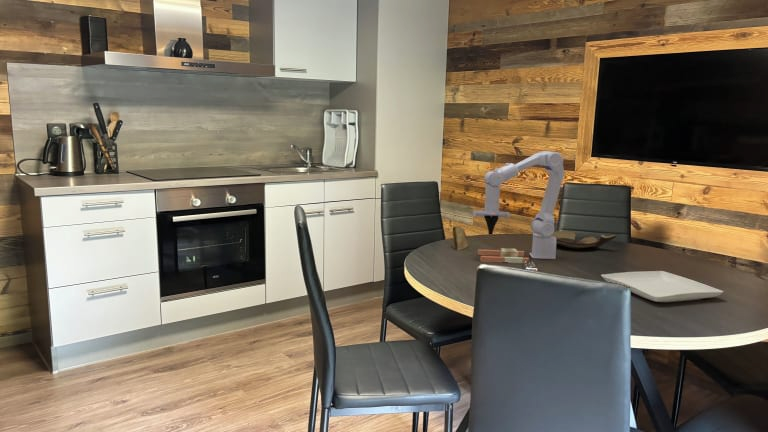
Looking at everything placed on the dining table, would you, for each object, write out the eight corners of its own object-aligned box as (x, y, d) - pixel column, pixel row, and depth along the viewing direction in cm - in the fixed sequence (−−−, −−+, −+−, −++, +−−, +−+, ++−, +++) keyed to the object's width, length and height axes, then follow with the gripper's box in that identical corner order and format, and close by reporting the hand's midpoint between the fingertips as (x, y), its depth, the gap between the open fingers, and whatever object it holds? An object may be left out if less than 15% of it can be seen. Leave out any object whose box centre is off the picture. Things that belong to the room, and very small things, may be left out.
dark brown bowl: (561, 239, 273) (562, 223, 272) (620, 250, 251) (621, 233, 249) (533, 244, 259) (534, 228, 258) (593, 257, 236) (595, 239, 235)
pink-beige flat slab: (523, 255, 237) (523, 251, 236) (528, 263, 224) (529, 258, 224) (477, 254, 238) (478, 249, 238) (480, 261, 225) (480, 256, 225)
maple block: (515, 258, 234) (515, 248, 233) (517, 261, 228) (517, 252, 227) (500, 257, 234) (501, 248, 233) (502, 261, 228) (502, 251, 227)
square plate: (724, 301, 181) (726, 290, 181) (654, 308, 174) (656, 296, 173) (661, 279, 207) (662, 268, 206) (598, 283, 199) (599, 273, 198)
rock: (464, 238, 258) (445, 237, 254) (473, 226, 252) (454, 224, 248) (472, 257, 251) (453, 255, 246) (481, 244, 245) (461, 243, 241)
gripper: (474, 202, 224) (473, 235, 226) (511, 203, 223) (509, 236, 225) (473, 199, 231) (472, 231, 233) (509, 200, 230) (507, 233, 232)
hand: (490, 234), depth 230 cm, fingers closed
